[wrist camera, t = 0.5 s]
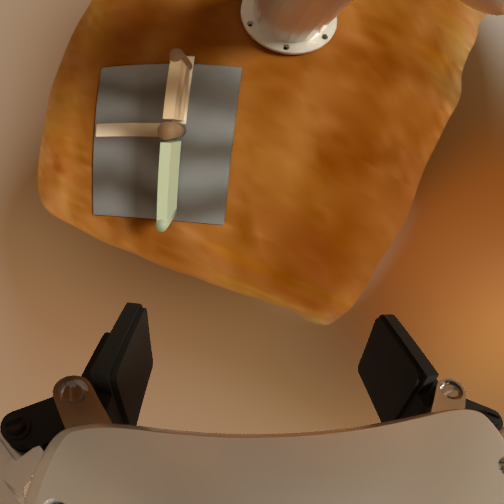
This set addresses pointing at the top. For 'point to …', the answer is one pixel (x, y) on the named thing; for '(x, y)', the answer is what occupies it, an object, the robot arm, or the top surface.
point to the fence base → (164, 137)
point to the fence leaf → (167, 183)
